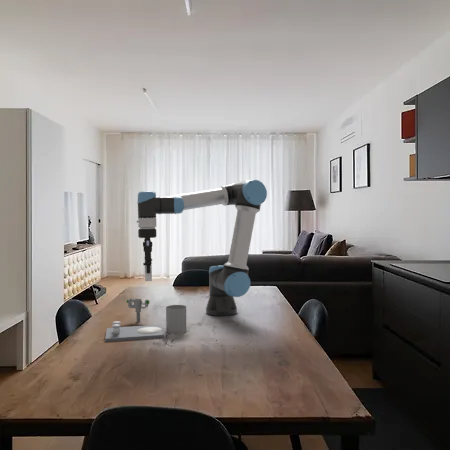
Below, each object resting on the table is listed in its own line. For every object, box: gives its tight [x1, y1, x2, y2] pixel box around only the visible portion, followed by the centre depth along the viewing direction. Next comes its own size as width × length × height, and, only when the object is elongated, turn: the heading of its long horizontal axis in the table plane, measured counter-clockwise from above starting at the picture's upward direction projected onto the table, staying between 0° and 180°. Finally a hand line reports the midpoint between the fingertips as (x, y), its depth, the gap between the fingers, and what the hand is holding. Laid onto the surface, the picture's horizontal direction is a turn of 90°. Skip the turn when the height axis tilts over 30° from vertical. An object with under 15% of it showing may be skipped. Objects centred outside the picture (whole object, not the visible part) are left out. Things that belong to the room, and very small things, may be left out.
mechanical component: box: [126, 298, 150, 323], centre depth 198 cm, size 3×10×10 cm, turn 78°
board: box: [104, 320, 165, 343], centre depth 177 cm, size 22×16×5 cm
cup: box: [165, 304, 187, 335], centre depth 181 cm, size 8×8×10 cm
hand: (148, 278), depth 185 cm, fingers open, 13 cm apart
